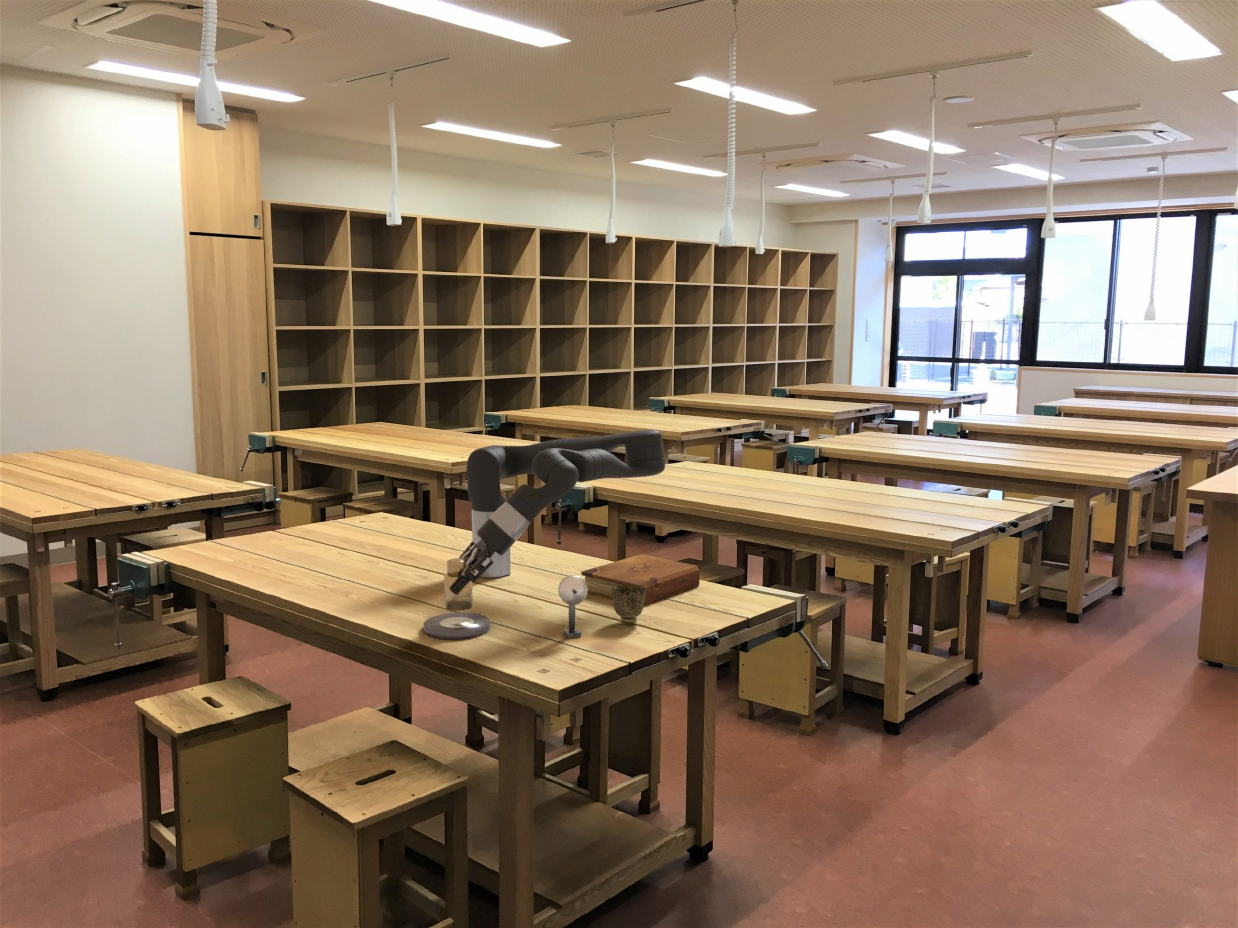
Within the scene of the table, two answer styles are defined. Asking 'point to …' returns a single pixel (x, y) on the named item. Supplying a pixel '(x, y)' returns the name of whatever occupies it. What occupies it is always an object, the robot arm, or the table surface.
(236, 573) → the table surface
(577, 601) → the dial gauge
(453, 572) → the weight
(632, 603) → the cup
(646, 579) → the diary
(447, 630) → the turntable
